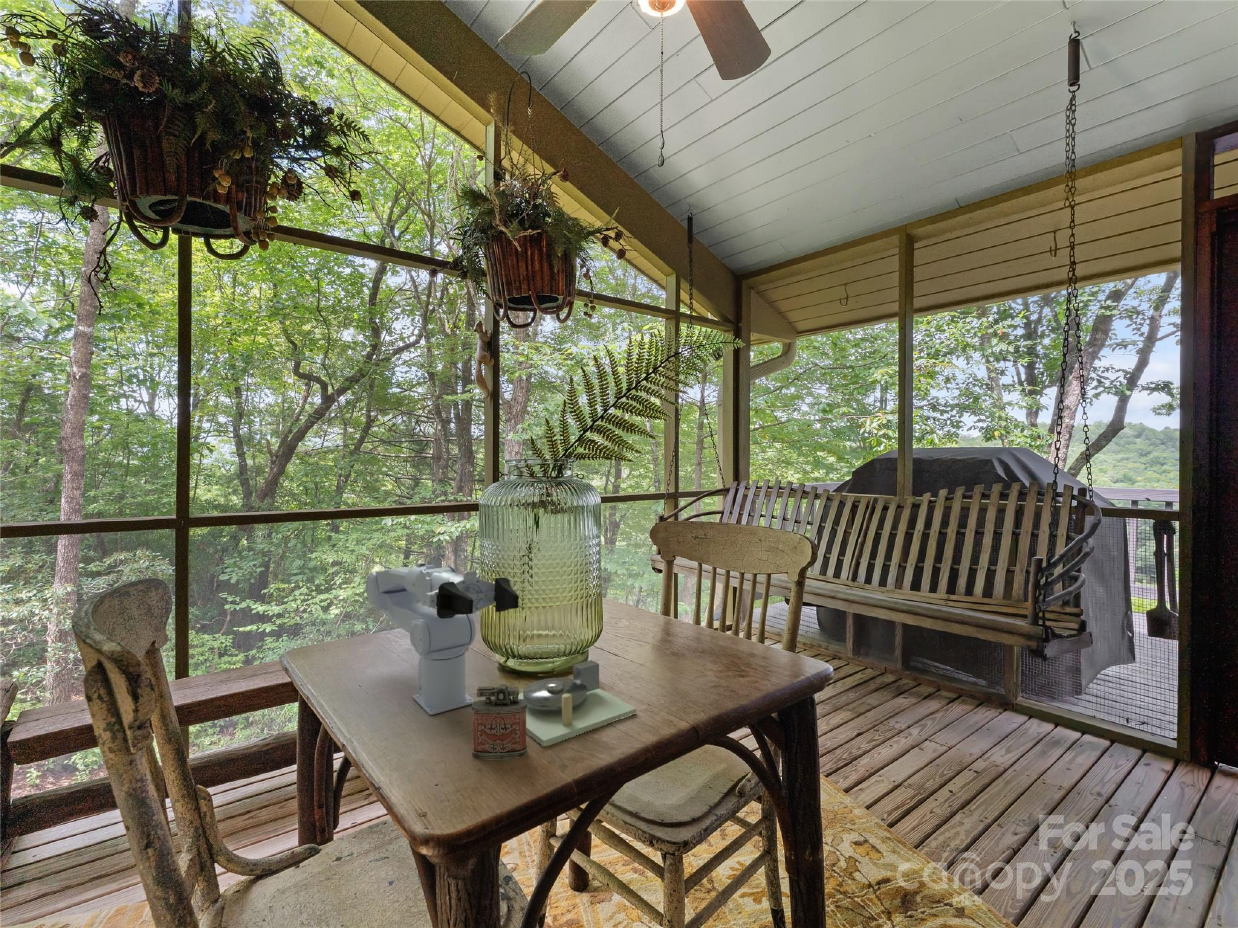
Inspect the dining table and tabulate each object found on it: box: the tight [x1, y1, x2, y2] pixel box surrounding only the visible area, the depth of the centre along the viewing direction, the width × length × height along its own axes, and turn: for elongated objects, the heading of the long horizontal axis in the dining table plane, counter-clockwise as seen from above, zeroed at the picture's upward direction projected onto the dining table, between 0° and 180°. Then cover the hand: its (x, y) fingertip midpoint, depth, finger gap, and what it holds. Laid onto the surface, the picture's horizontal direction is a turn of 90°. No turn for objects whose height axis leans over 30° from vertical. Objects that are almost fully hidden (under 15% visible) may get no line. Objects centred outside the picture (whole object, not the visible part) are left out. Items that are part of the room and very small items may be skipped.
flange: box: [522, 659, 600, 713], centre depth 98 cm, size 14×11×4 cm
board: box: [511, 688, 637, 747], centre depth 97 cm, size 18×18×6 cm
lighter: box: [471, 683, 528, 761], centre depth 83 cm, size 8×3×10 cm, turn 92°
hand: (494, 604), depth 86 cm, fingers open, 7 cm apart
